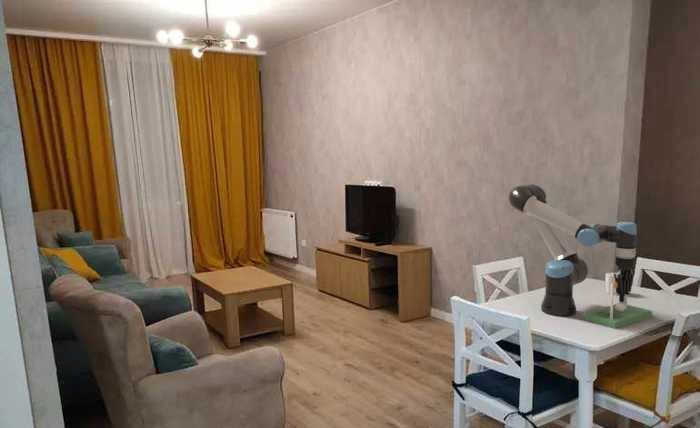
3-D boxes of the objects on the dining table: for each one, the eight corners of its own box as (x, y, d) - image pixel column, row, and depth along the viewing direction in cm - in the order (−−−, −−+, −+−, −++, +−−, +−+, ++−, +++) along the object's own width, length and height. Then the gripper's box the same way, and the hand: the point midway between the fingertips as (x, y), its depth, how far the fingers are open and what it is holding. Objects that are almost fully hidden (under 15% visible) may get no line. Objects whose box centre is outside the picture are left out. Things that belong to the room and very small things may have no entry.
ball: (624, 304, 212) (622, 312, 212) (614, 301, 213) (612, 310, 213) (627, 304, 208) (625, 313, 208) (617, 301, 209) (615, 310, 209)
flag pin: (611, 320, 199) (613, 284, 198) (609, 320, 200) (610, 283, 198) (616, 319, 201) (618, 282, 199) (614, 318, 202) (615, 282, 200)
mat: (614, 328, 197) (614, 322, 197) (583, 319, 210) (584, 313, 209) (651, 316, 211) (651, 310, 211) (620, 308, 223) (620, 302, 223)
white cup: (622, 292, 249) (623, 273, 248) (621, 295, 243) (622, 276, 242) (605, 290, 253) (606, 272, 252) (604, 293, 247) (604, 275, 246)
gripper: (625, 260, 203) (622, 313, 206) (642, 256, 210) (639, 307, 212) (608, 257, 209) (606, 308, 212) (625, 253, 216) (622, 303, 219)
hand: (622, 308), depth 212 cm, fingers closed
